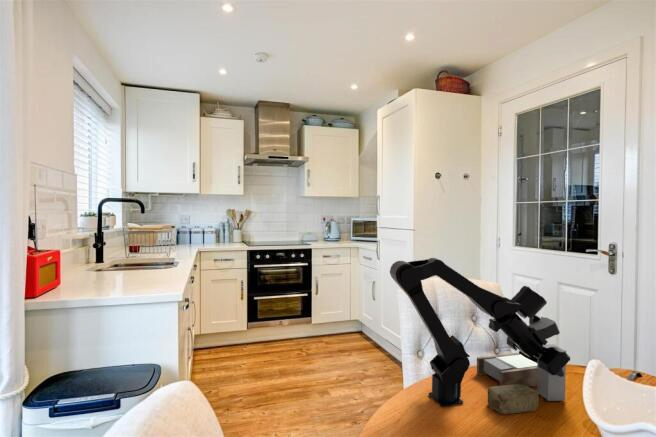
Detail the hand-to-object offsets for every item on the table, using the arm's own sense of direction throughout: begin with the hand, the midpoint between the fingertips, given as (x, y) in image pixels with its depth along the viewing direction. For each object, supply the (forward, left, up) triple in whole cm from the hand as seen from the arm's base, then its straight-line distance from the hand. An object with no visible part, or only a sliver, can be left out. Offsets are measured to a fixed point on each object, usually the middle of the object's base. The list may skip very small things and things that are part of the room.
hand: (556, 371), depth 96 cm
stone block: (-15, -1, -7) cm, 17 cm away
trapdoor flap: (-3, +12, -5) cm, 13 cm away
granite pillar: (-1, 0, -7) cm, 7 cm away
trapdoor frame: (-4, +12, -7) cm, 14 cm away
